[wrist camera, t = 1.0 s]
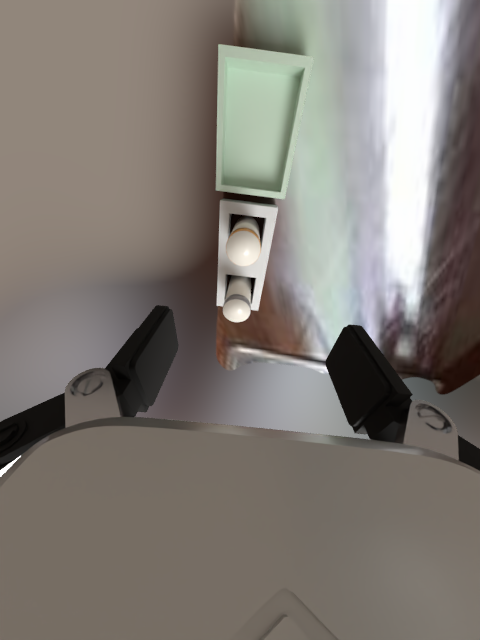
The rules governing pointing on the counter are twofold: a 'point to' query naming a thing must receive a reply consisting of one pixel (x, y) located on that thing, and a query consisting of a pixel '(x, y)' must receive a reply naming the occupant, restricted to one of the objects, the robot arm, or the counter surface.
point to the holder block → (260, 265)
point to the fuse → (238, 299)
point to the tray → (258, 118)
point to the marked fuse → (244, 242)
